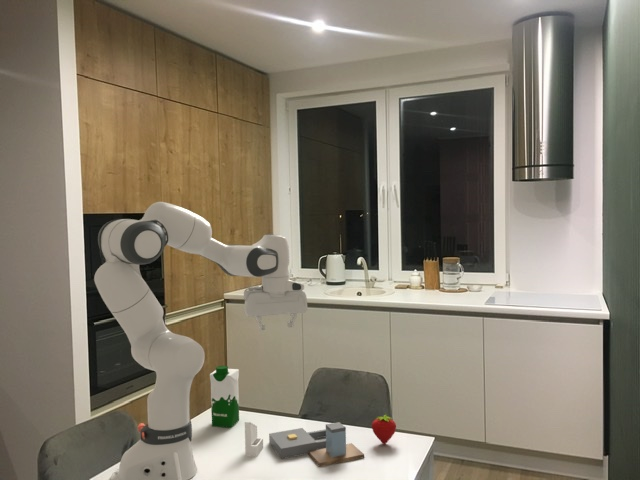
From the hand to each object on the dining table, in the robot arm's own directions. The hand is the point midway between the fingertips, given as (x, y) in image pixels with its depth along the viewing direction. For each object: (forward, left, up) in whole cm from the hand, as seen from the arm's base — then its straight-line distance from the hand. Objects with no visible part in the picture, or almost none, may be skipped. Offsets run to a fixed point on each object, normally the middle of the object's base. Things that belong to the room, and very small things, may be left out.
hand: (276, 328), depth 171 cm
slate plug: (+11, -21, -34) cm, 41 cm away
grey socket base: (+5, -10, -35) cm, 36 cm away
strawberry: (+28, -19, -35) cm, 49 cm away
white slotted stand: (-10, -8, -35) cm, 37 cm away
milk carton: (-13, +18, -35) cm, 42 cm away
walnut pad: (+11, -21, -35) cm, 42 cm away
